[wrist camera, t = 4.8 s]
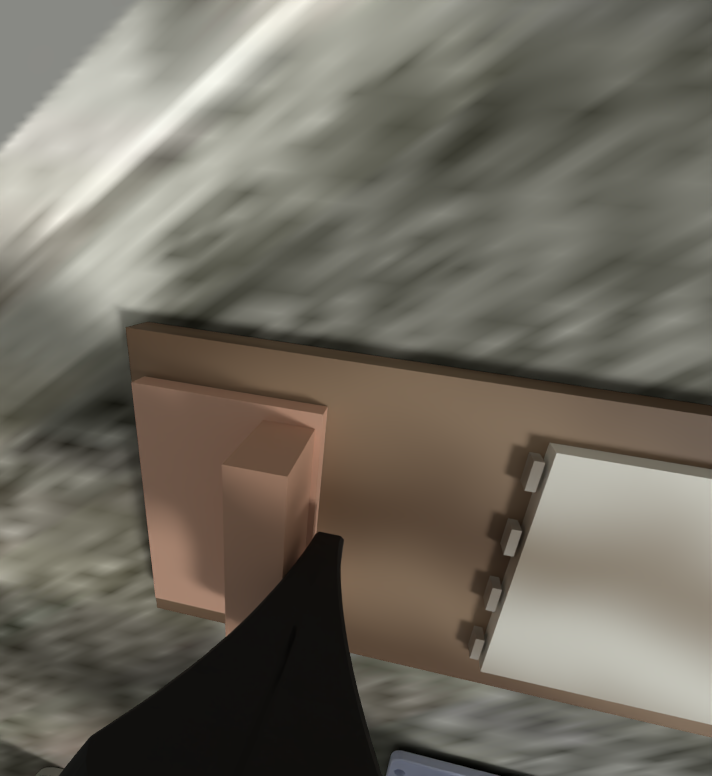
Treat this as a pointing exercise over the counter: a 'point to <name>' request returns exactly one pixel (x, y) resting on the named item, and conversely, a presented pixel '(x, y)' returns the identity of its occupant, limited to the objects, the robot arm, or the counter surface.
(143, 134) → the counter surface
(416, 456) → the board
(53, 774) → the coffee cup
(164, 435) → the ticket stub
